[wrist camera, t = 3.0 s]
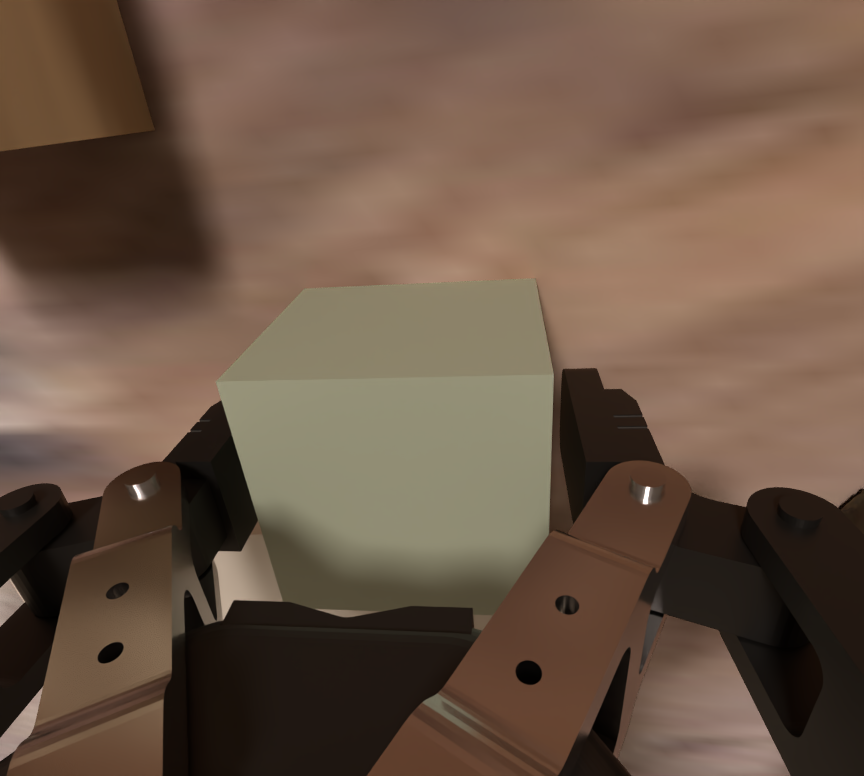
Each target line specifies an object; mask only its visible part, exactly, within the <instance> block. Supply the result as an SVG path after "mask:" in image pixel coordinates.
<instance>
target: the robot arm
mask: <svg viewBox="0 0 864 776" xmlns="http://www.w3.org/2000/svg"><path fill="white" fill-rule="evenodd" d="M560 449H561V457H562V462H563V468H564V474H565V480H566V485H567V491H568V497H569V503H570V508H571V514H572V520H573V526H572V527H571V529H570V530H569V532H568V533H564V532H561V531H559V530H554V531H552V532H551V533H550V534H549V535H548V536H547V538H546V539H545V541H544V542H543V543H542V545H541V546H540V548H539V549H538V551H537V552H536V554H535V555H534V557H533V558H532V559H531V561H530V562H529V564H528V565H527V567H526V568H525V570H524V571H523V573H522V574H521V575H520V577H519V578H518V580H517V581H516V583H515V584H514V586H513V587H512V588H511V590H510V591H509V593H508V594H507V596H506V597H505V599H504V600H503V602H502V603H501V604H500V606H499V607H498V609H497V610H496V612H495V613H494V615H493V616H492V618H491V619H490V620H489V622H488V623H487V625H486V626H485V628H484V629H483V631H482V630H479V629H475V628H474V619H473V608H462V607H431V606H408V607H403V608H397V609H392V610H387V611H381V612H376V613H370V614H365V615H360V616H354V617H340V616H337V615H333V614H330V613H326V612H323V611H319V610H316V609H313V608H309V607H306V606H302V605H299V604H295V603H292V602H278V601H247V600H233V602H232V604H231V606H230V608H229V610H228V612H227V614H226V616H225V618H224V620H223V616H222V607H221V597H220V587H219V578H218V570H217V567H216V564H215V562H214V558H215V556H216V554H217V553H218V551H235V552H241V551H242V549H243V547H244V545H245V544H246V542H247V540H248V538H249V536H250V534H251V533H252V531H253V529H254V527H255V525H256V523H257V522H258V518H257V515H256V512H255V509H254V505H253V502H252V499H251V495H250V492H249V489H248V486H247V482H246V479H245V476H244V473H243V469H242V466H241V463H240V459H239V456H238V453H237V450H236V446H235V443H234V440H233V437H232V433H231V430H230V427H229V423H228V420H227V417H226V414H225V410H224V407H223V404H222V401H219V402H218V403H216V404H215V405H213V406H211V407H210V408H209V409H208V411H207V412H206V413H205V414H204V415H203V416H202V417H201V418H200V422H197V423H196V424H195V425H194V426H193V427H192V429H191V432H188V433H187V434H186V435H185V437H184V438H183V439H182V440H181V441H180V442H179V443H178V444H177V446H176V447H175V448H174V449H173V450H172V451H171V452H170V453H169V455H168V456H167V457H166V458H165V459H164V460H163V461H162V462H152V463H147V464H143V465H140V466H137V467H134V468H132V469H130V470H128V471H126V472H124V473H122V474H121V475H119V476H118V477H116V478H115V479H114V480H113V481H111V482H110V483H109V485H108V486H107V487H106V489H105V490H104V493H103V496H101V497H96V498H91V499H87V500H82V501H77V502H72V503H68V502H67V500H66V498H65V496H64V495H63V493H62V491H61V489H60V487H58V486H57V485H54V484H48V483H46V484H35V485H30V486H27V487H23V488H20V489H17V490H15V491H12V492H10V493H8V494H6V495H4V496H2V497H0V587H1V586H3V585H4V584H5V583H6V582H7V581H8V580H9V579H11V580H12V582H13V584H14V585H15V587H16V588H17V590H18V591H19V593H20V595H21V596H22V598H23V599H24V601H25V603H24V604H23V605H22V606H21V607H20V608H19V609H18V610H17V611H16V612H15V613H14V614H13V615H12V616H11V617H10V618H9V619H8V620H7V621H6V622H5V623H4V624H3V625H2V626H1V627H0V737H1V736H2V735H3V734H4V732H5V731H6V730H7V729H8V728H9V726H10V725H11V724H12V723H13V722H14V720H15V719H16V718H17V717H18V716H19V714H20V713H21V712H22V711H23V710H24V708H25V707H26V706H27V705H28V704H29V702H30V701H31V700H32V699H33V698H34V696H35V695H36V694H37V693H38V692H39V690H40V689H41V688H42V687H43V691H42V695H41V700H40V704H39V709H38V713H37V718H36V722H35V726H34V729H33V731H32V733H31V735H30V736H29V737H28V738H27V739H25V740H24V741H23V742H21V744H20V745H19V746H18V747H17V749H16V751H14V752H13V753H11V754H10V755H9V756H7V757H6V758H5V759H3V760H2V761H0V776H631V775H630V774H629V772H628V771H627V770H626V769H625V768H624V766H623V765H622V764H621V763H620V762H619V760H618V756H619V753H620V751H621V748H622V745H623V742H624V739H625V736H626V733H627V730H628V727H629V723H630V720H631V716H632V712H633V708H634V705H635V701H636V698H637V695H638V692H639V689H640V686H641V683H642V681H643V678H644V675H645V673H646V670H647V668H648V665H649V662H650V660H651V657H652V654H653V652H654V649H655V647H656V644H657V641H658V639H659V636H660V633H661V631H662V628H663V626H664V623H665V620H666V618H667V615H670V616H673V617H677V618H680V619H683V620H687V621H690V622H694V623H697V624H700V625H704V626H707V627H710V628H714V629H717V630H719V632H720V634H721V637H722V639H723V641H724V643H725V645H726V647H727V649H728V651H729V653H730V655H731V657H732V659H733V661H734V663H735V665H736V667H737V669H738V671H739V673H740V675H741V677H742V679H743V681H744V683H745V685H746V687H747V689H748V691H749V693H750V695H751V697H752V699H753V701H754V703H755V705H756V707H757V709H758V711H759V713H760V715H761V717H762V719H763V721H764V723H765V725H766V727H767V729H768V731H769V733H770V735H771V737H772V739H773V741H774V743H775V745H776V747H777V749H778V751H779V753H780V755H781V757H782V759H783V761H784V763H785V765H786V767H787V769H788V771H789V773H790V775H791V776H864V534H863V533H862V532H861V531H860V530H859V529H858V528H857V527H856V526H855V525H854V524H853V522H852V521H851V520H850V519H849V518H848V517H847V516H846V515H845V514H844V513H843V512H842V511H841V510H840V509H839V508H837V507H836V506H834V505H833V504H832V503H830V502H828V501H826V500H825V499H823V498H820V497H818V496H816V495H813V494H811V493H808V492H804V491H801V490H797V489H791V488H783V487H774V488H766V489H762V490H759V491H757V492H755V493H754V494H752V495H751V496H750V498H749V500H748V502H747V506H746V507H742V506H738V505H733V504H728V503H723V502H719V501H714V500H710V499H707V498H704V497H701V496H698V495H696V494H694V493H691V487H690V484H689V483H688V481H687V480H686V479H685V478H684V477H683V476H682V475H681V474H680V473H678V472H677V471H675V470H674V469H672V468H670V467H668V466H665V465H664V462H663V460H662V458H661V456H660V453H659V451H658V449H657V447H656V444H655V442H654V440H653V437H652V435H651V433H650V431H649V429H647V424H646V422H645V419H644V417H642V413H641V410H640V408H639V406H638V403H637V401H636V400H635V399H633V398H632V397H631V396H630V395H628V394H627V393H626V392H624V391H623V390H622V389H604V388H603V385H602V382H601V379H600V376H599V373H598V371H597V369H596V368H586V369H563V371H562V383H561V409H560Z"/></svg>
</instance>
